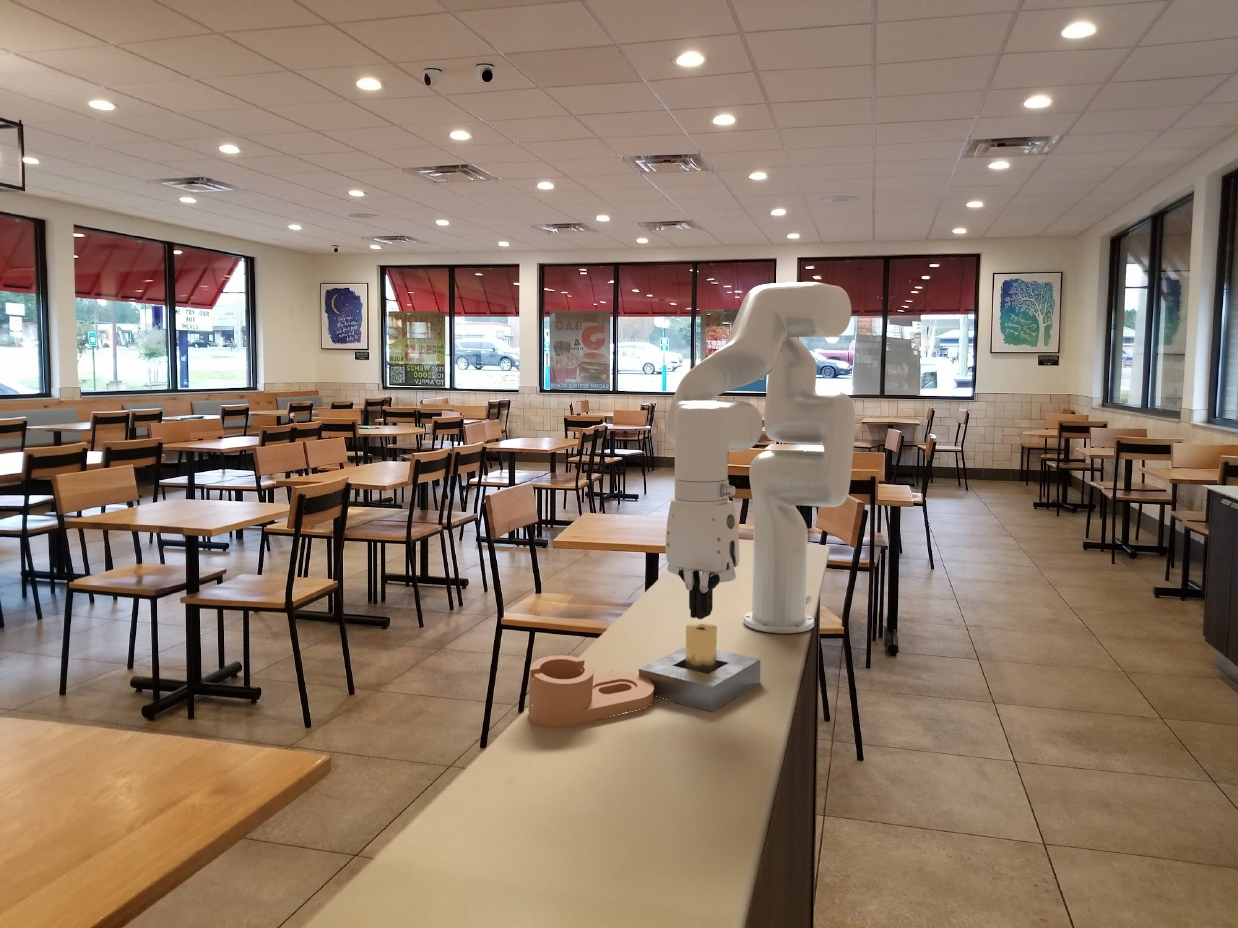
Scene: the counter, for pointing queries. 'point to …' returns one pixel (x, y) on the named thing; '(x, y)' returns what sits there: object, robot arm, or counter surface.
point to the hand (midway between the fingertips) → (700, 615)
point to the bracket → (582, 692)
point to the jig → (702, 679)
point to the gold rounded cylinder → (701, 647)
